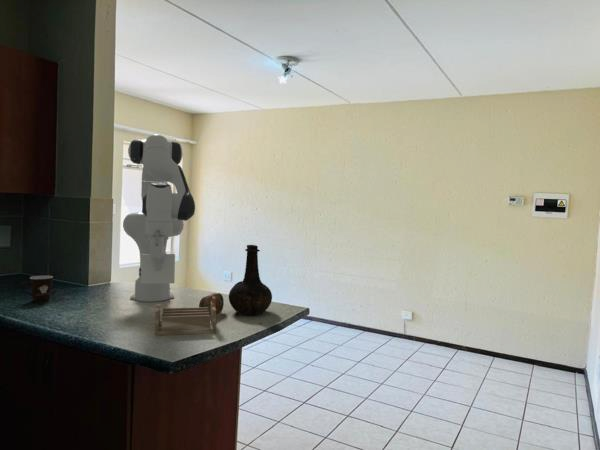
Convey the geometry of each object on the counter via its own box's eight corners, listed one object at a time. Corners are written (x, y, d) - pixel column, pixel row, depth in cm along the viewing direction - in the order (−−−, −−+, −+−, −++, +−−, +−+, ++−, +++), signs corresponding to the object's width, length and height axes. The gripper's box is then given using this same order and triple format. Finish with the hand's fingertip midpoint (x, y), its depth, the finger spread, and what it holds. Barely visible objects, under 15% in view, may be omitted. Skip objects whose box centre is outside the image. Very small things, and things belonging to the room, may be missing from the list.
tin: (204, 320, 170) (204, 298, 170) (197, 319, 171) (197, 297, 171) (224, 312, 184) (224, 291, 184) (217, 311, 185) (218, 291, 185)
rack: (156, 324, 162) (157, 294, 162) (212, 322, 167) (213, 293, 167) (155, 335, 150) (155, 302, 149) (215, 332, 155) (216, 301, 154)
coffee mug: (54, 297, 198) (54, 275, 197) (50, 302, 190) (50, 278, 189) (24, 298, 194) (24, 275, 194) (19, 303, 186) (19, 279, 185)
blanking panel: (141, 282, 155) (141, 253, 154) (174, 282, 157) (175, 253, 157) (140, 283, 153) (141, 254, 152) (174, 283, 156) (174, 254, 155)
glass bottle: (250, 305, 197) (252, 242, 196) (280, 312, 186) (282, 245, 184) (219, 312, 183) (220, 244, 182) (249, 320, 172) (251, 248, 171)
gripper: (167, 232, 145) (166, 274, 146) (169, 228, 165) (169, 265, 165) (146, 231, 143) (145, 274, 144) (151, 227, 163) (151, 265, 164)
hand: (158, 269), depth 155 cm, fingers closed on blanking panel, 2 cm apart
